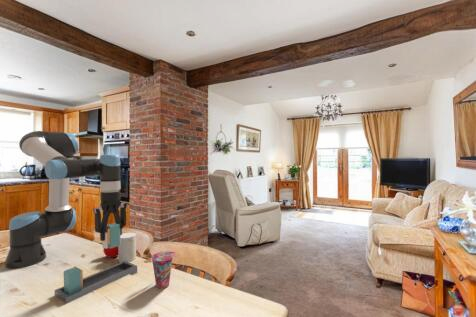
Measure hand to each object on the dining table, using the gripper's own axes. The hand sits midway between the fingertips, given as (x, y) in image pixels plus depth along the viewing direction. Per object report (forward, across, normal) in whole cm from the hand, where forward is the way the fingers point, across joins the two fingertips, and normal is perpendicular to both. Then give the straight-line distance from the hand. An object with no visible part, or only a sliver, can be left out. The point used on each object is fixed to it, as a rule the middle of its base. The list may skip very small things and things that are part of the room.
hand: (111, 245), depth 102 cm
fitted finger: (+13, +15, 0) cm, 20 cm away
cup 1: (+14, -15, -12) cm, 24 cm away
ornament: (+14, -13, -20) cm, 28 cm away
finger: (0, 0, 0) cm, 1 cm away
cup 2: (+15, -8, +22) cm, 28 cm away
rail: (+14, +5, 0) cm, 15 cm away
